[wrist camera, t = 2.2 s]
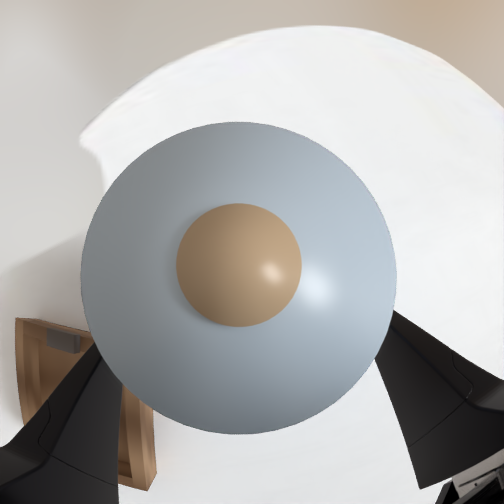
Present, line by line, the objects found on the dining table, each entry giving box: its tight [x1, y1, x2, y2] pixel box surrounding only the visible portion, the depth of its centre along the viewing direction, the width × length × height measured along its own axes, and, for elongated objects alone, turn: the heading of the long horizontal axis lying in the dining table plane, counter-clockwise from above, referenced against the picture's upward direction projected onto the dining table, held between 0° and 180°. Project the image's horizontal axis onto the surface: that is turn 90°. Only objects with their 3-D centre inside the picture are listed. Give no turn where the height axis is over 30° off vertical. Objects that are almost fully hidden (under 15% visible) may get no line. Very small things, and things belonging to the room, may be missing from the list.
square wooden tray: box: [15, 318, 157, 491], centre depth 14 cm, size 11×11×4 cm
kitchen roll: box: [81, 122, 397, 434], centre depth 12 cm, size 7×7×13 cm
